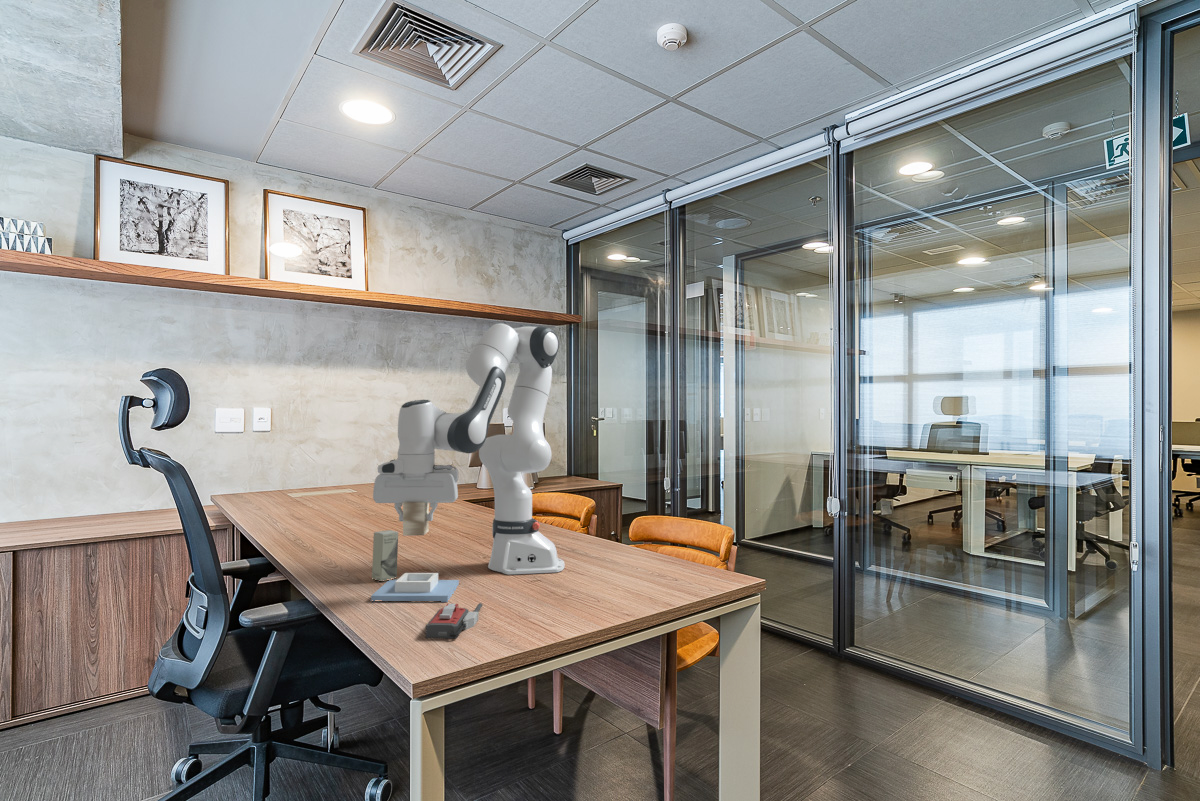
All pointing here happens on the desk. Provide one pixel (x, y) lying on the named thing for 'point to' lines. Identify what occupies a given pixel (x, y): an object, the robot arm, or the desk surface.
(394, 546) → the box
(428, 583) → the base plate
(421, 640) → the desk surface
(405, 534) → the block
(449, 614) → the walkie-talkie
